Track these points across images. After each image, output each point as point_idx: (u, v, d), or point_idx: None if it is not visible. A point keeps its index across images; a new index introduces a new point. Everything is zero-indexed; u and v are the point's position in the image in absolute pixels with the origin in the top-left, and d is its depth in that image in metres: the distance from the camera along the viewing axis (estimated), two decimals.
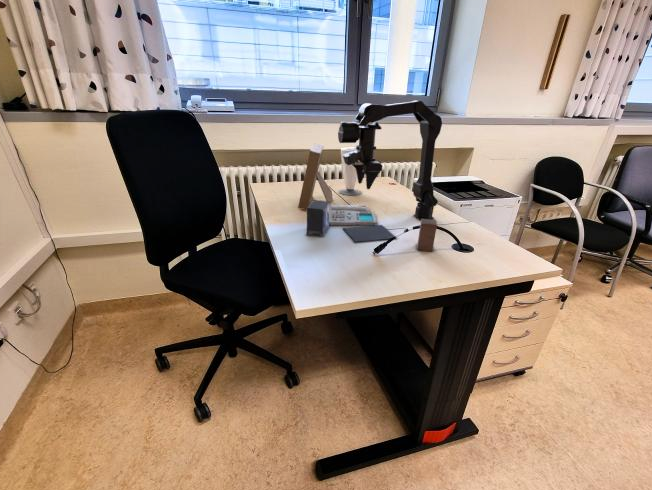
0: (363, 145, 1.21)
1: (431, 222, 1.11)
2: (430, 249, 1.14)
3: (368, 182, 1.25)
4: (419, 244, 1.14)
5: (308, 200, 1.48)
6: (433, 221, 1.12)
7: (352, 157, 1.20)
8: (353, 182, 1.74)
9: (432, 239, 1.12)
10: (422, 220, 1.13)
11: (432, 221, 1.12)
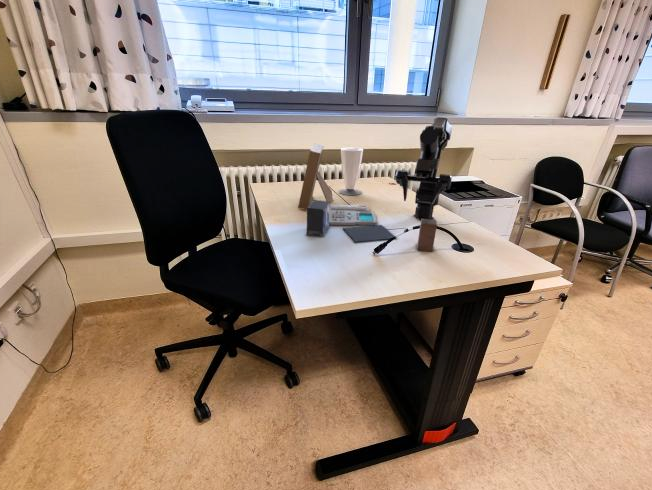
0: (432, 160, 1.16)
1: (431, 222, 1.11)
2: (430, 249, 1.14)
3: (436, 196, 1.15)
4: (419, 244, 1.14)
5: (308, 200, 1.48)
6: (433, 221, 1.12)
7: (437, 163, 1.10)
8: (353, 182, 1.74)
9: (432, 239, 1.12)
10: (422, 220, 1.13)
11: (432, 221, 1.12)
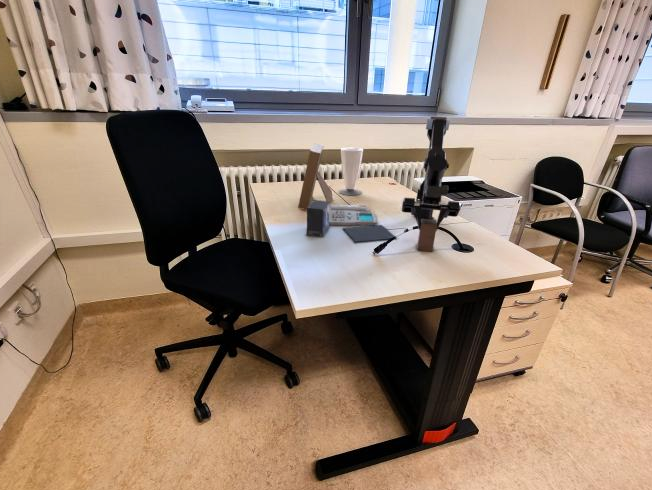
0: (439, 187, 1.13)
1: (431, 222, 1.11)
2: (430, 249, 1.14)
3: None
4: (419, 244, 1.14)
5: (308, 200, 1.48)
6: (433, 221, 1.12)
7: (447, 189, 1.08)
8: (353, 182, 1.74)
9: (432, 239, 1.12)
10: (422, 220, 1.13)
11: (432, 221, 1.12)
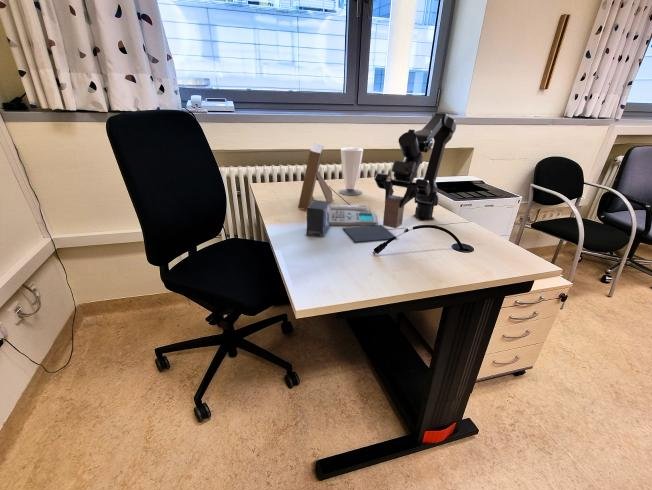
0: None
1: (396, 198, 1.12)
2: (394, 225, 1.14)
3: (405, 200, 1.11)
4: (384, 219, 1.16)
5: (308, 200, 1.48)
6: (399, 198, 1.12)
7: (413, 166, 1.07)
8: (353, 182, 1.74)
9: (395, 215, 1.13)
10: (390, 196, 1.14)
11: (398, 197, 1.12)
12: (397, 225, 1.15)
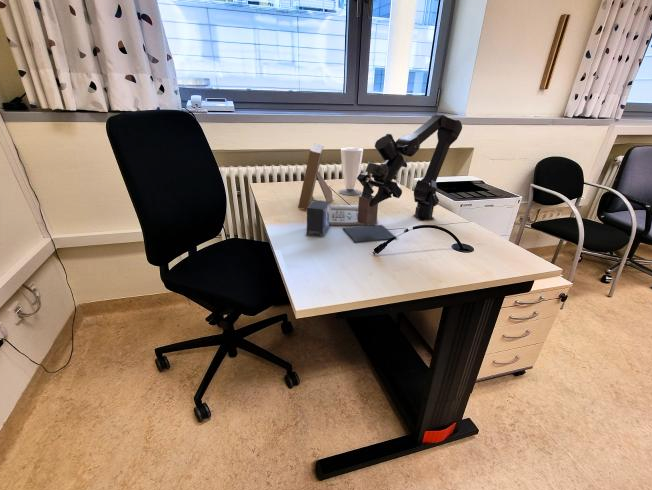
0: (390, 167, 1.19)
1: (368, 197, 1.20)
2: (365, 223, 1.22)
3: (376, 199, 1.18)
4: (358, 216, 1.24)
5: (308, 200, 1.48)
6: (372, 197, 1.20)
7: (383, 168, 1.13)
8: (353, 182, 1.74)
9: (366, 213, 1.20)
10: (366, 195, 1.22)
11: (371, 197, 1.20)
12: (368, 223, 1.22)
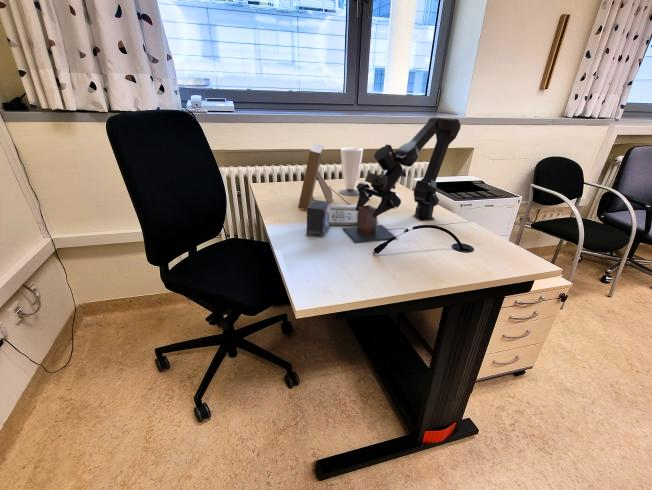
0: (390, 177, 1.20)
1: (367, 208, 1.21)
2: (364, 233, 1.24)
3: (379, 210, 1.19)
4: (357, 226, 1.26)
5: (308, 200, 1.48)
6: (371, 208, 1.22)
7: (382, 178, 1.15)
8: (353, 182, 1.74)
9: (365, 224, 1.22)
10: (365, 206, 1.24)
11: (370, 208, 1.22)
12: (367, 233, 1.24)
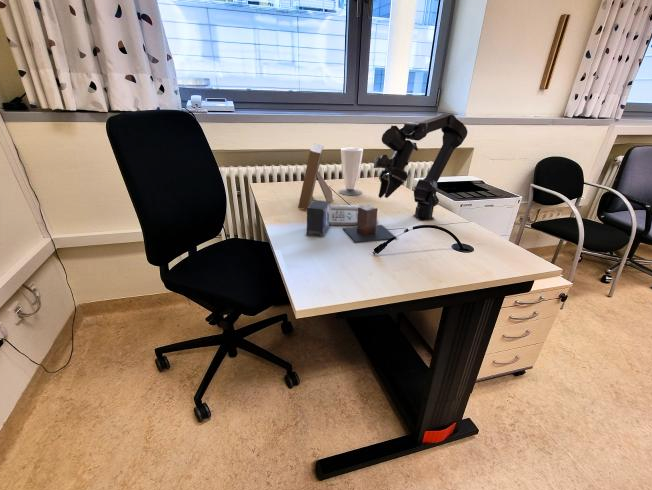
0: (397, 155, 1.21)
1: (367, 208, 1.21)
2: (364, 233, 1.24)
3: (388, 189, 1.20)
4: (357, 226, 1.26)
5: (308, 200, 1.48)
6: (371, 208, 1.22)
7: (382, 158, 1.18)
8: (353, 182, 1.74)
9: (365, 224, 1.22)
10: (365, 206, 1.24)
11: (370, 208, 1.22)
12: (367, 233, 1.24)
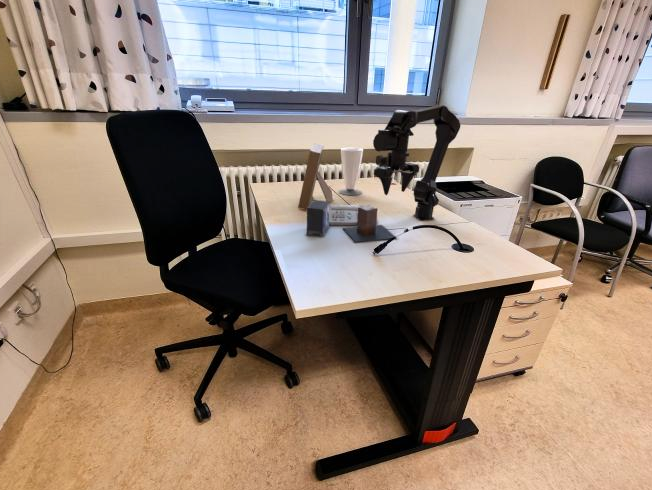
0: (391, 151, 1.22)
1: (367, 208, 1.21)
2: (364, 233, 1.24)
3: (383, 187, 1.25)
4: (357, 226, 1.26)
5: (308, 200, 1.48)
6: (371, 208, 1.22)
7: (376, 160, 1.26)
8: (353, 182, 1.74)
9: (365, 224, 1.22)
10: (365, 206, 1.24)
11: (370, 208, 1.22)
12: (367, 233, 1.24)
